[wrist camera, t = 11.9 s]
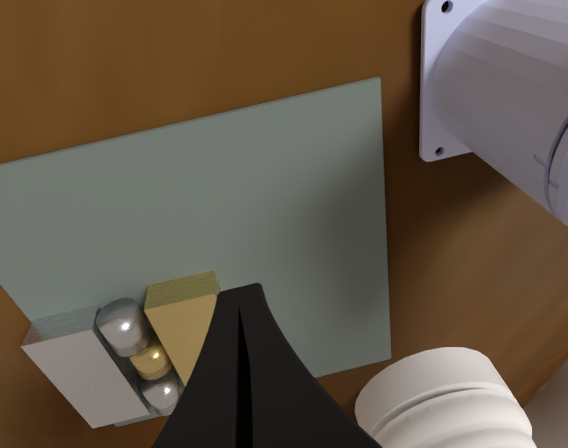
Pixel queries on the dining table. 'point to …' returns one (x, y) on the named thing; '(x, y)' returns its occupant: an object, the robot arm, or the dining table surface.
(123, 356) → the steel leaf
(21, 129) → the dining table surface
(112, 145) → the mat
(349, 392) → the dining table surface
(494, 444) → the honey pot
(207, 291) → the tan knobbed block
